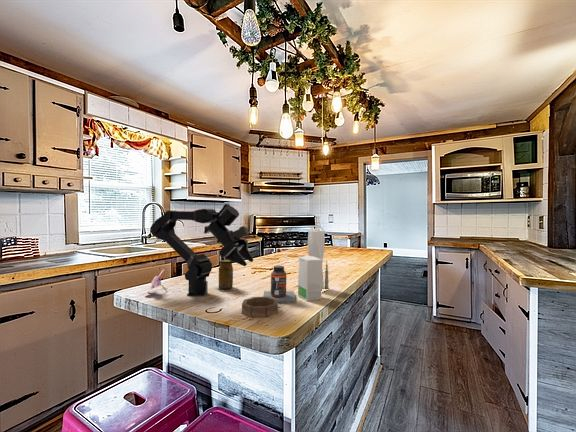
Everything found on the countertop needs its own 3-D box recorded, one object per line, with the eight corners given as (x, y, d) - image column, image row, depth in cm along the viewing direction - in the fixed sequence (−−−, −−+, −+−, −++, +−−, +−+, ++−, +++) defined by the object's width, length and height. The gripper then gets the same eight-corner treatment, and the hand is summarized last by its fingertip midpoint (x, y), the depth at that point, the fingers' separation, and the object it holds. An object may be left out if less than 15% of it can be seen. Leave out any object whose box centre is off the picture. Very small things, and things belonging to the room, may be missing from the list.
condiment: (229, 285, 127) (229, 258, 127) (238, 289, 121) (238, 261, 121) (214, 287, 123) (214, 260, 123) (223, 292, 116) (223, 263, 116)
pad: (262, 303, 102) (262, 300, 102) (264, 293, 114) (264, 291, 114) (295, 303, 102) (295, 300, 102) (293, 293, 114) (293, 291, 114)
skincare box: (297, 295, 112) (297, 256, 112) (312, 293, 114) (312, 255, 114) (307, 301, 104) (307, 259, 104) (322, 299, 107) (323, 258, 107)
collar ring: (240, 317, 88) (240, 307, 88) (245, 305, 100) (245, 296, 100) (277, 317, 88) (277, 307, 88) (277, 305, 100) (278, 296, 100)
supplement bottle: (279, 298, 104) (279, 268, 104) (267, 295, 108) (267, 266, 108) (289, 295, 109) (289, 266, 109) (277, 292, 112) (277, 264, 112)
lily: (157, 290, 122) (145, 272, 119) (181, 280, 121) (169, 262, 118) (144, 307, 110) (131, 288, 107) (171, 297, 109) (158, 277, 106)
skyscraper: (321, 294, 115) (322, 225, 114) (303, 291, 119) (304, 225, 118) (329, 289, 122) (329, 225, 122) (312, 287, 126) (312, 224, 126)
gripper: (227, 220, 99) (258, 252, 98) (243, 219, 118) (269, 246, 116) (206, 241, 100) (236, 273, 99) (225, 237, 119) (250, 264, 117)
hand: (249, 263), depth 108 cm, fingers open, 9 cm apart
